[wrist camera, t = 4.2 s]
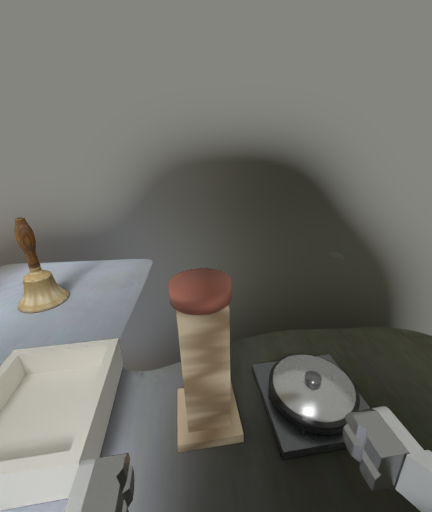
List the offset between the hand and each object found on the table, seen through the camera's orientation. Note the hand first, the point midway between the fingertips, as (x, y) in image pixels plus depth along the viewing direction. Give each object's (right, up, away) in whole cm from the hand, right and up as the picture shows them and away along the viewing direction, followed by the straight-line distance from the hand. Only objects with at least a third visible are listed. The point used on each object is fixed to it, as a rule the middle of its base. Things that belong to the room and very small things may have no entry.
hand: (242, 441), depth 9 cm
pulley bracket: (+9, -9, +18) cm, 22 cm away
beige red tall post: (-2, -10, +17) cm, 19 cm away
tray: (-18, -10, +17) cm, 27 cm away
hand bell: (-33, -2, +39) cm, 52 cm away
